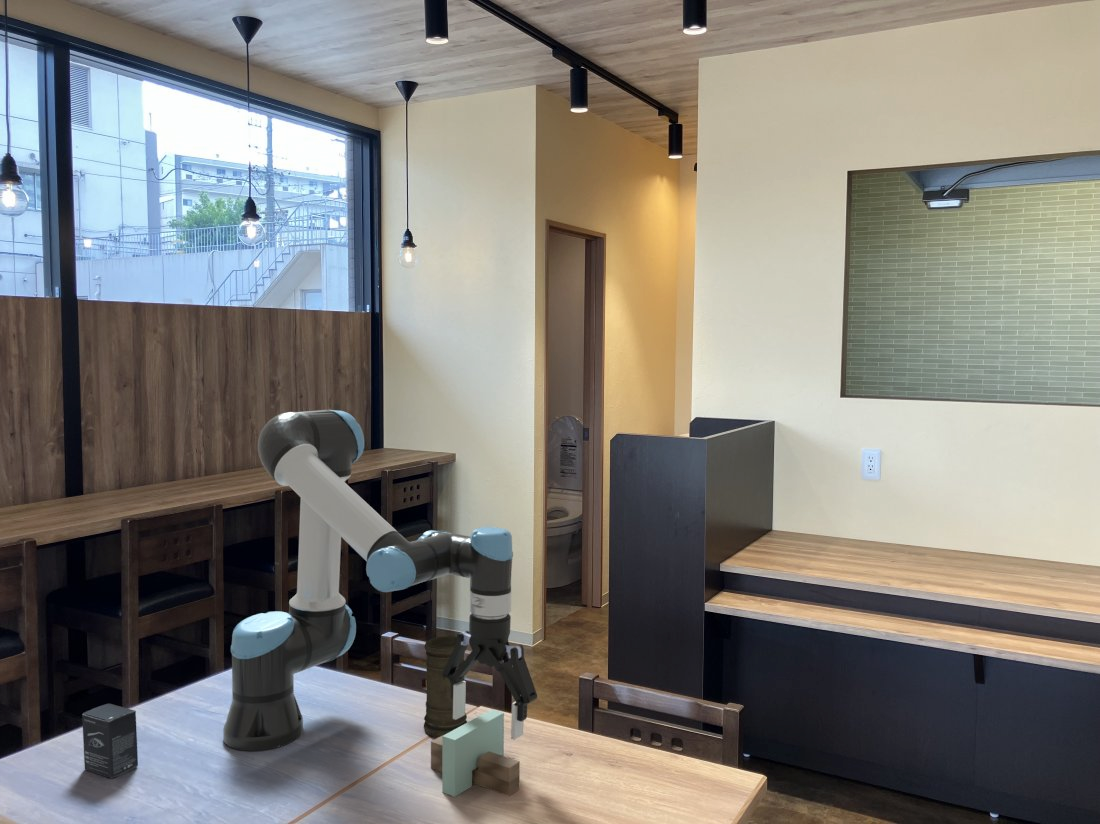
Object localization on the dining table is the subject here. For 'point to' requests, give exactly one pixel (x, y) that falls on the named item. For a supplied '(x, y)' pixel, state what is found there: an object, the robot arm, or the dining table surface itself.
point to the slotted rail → (486, 770)
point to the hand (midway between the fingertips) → (487, 726)
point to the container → (440, 688)
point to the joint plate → (470, 749)
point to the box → (110, 740)
